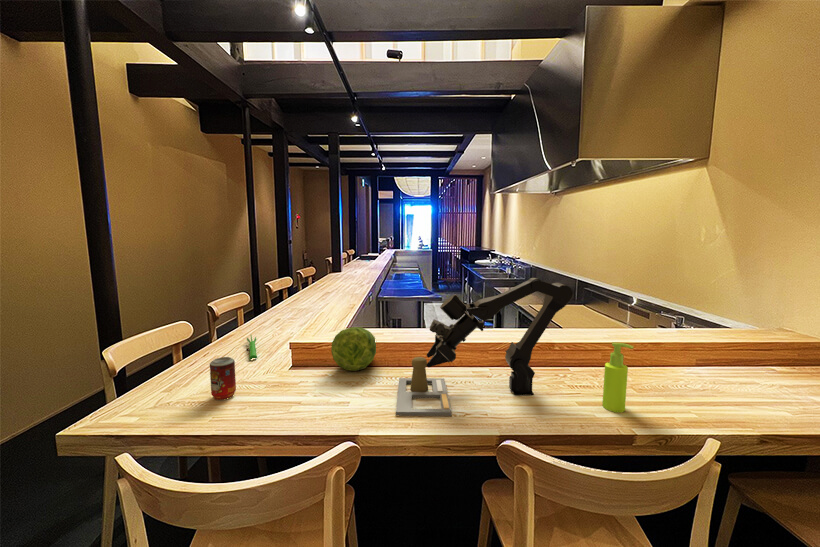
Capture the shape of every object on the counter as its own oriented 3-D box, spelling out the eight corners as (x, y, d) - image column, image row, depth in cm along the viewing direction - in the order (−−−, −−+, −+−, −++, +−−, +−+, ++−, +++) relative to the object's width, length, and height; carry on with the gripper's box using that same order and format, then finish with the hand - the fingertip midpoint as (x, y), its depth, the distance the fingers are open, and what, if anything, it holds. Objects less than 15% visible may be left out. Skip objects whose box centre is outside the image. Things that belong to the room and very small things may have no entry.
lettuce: (367, 370, 151) (392, 342, 150) (350, 383, 128) (380, 350, 127) (340, 343, 154) (365, 316, 153) (319, 351, 131) (348, 319, 130)
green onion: (258, 361, 146) (256, 339, 173) (258, 354, 146) (255, 332, 173) (245, 363, 144) (245, 340, 171) (245, 356, 144) (245, 333, 171)
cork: (407, 391, 116) (407, 359, 115) (414, 384, 122) (414, 354, 121) (424, 394, 114) (424, 362, 113) (430, 387, 120) (430, 356, 118)
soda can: (206, 401, 109) (204, 363, 108) (220, 391, 116) (219, 355, 115) (227, 402, 109) (225, 364, 107) (240, 392, 116) (239, 356, 114)
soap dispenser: (629, 415, 101) (633, 348, 99) (601, 409, 105) (605, 344, 102) (629, 406, 106) (633, 342, 104) (603, 401, 110) (606, 339, 107)
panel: (444, 381, 124) (444, 377, 124) (451, 416, 100) (451, 411, 100) (399, 381, 124) (399, 377, 124) (395, 415, 101) (395, 410, 100)
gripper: (443, 306, 124) (411, 336, 126) (445, 319, 105) (409, 353, 107) (464, 328, 124) (433, 358, 126) (471, 345, 106) (434, 379, 108)
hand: (427, 361), depth 117 cm, fingers open, 9 cm apart
